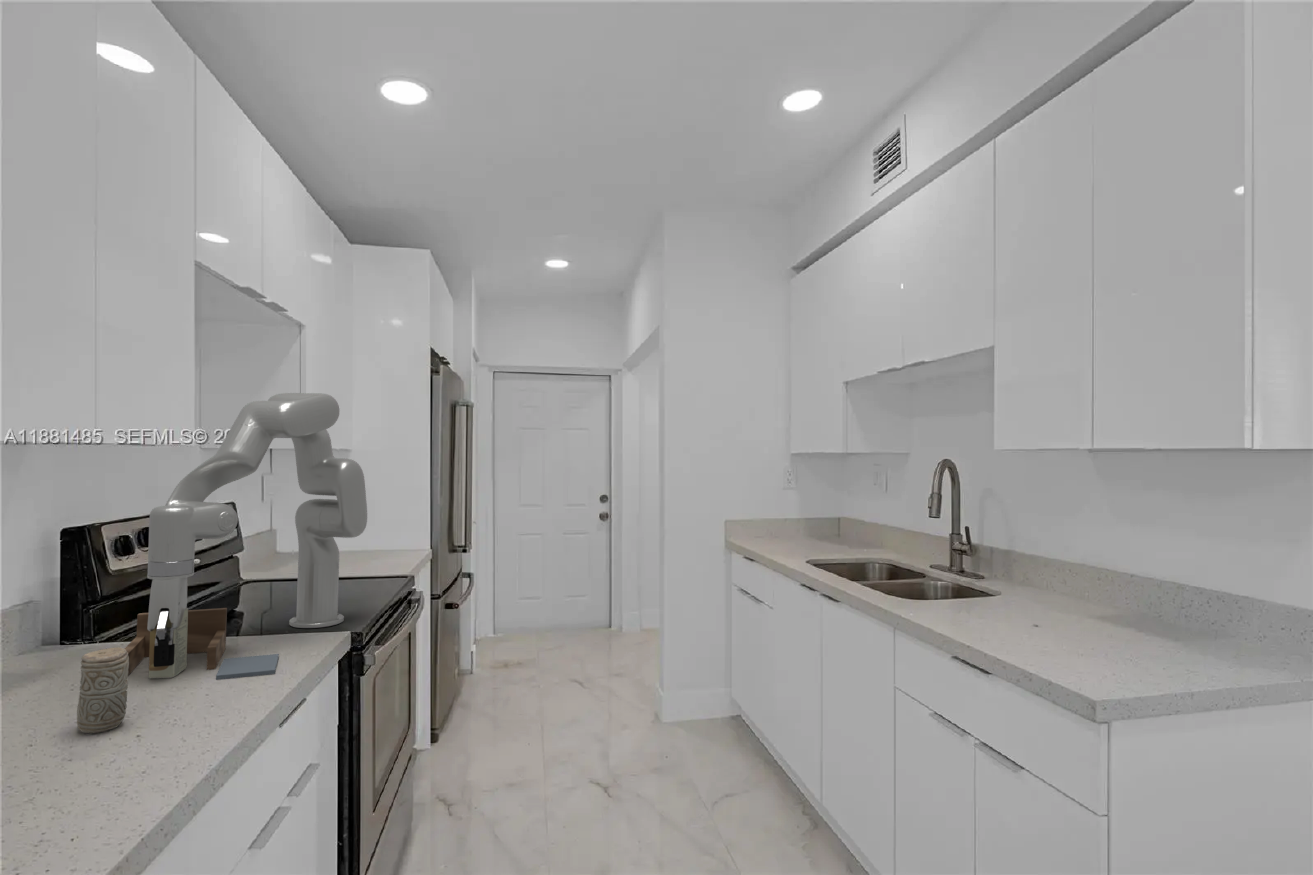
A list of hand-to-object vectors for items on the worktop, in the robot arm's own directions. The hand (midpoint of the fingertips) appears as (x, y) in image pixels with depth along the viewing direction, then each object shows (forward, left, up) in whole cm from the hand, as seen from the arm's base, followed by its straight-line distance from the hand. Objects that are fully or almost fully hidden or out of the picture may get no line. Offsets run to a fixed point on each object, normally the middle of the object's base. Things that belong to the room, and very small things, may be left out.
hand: (168, 659), depth 138 cm
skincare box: (0, 0, -3) cm, 3 cm away
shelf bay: (-8, 0, -3) cm, 9 cm away
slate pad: (+1, +14, -3) cm, 14 cm away
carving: (+27, -4, -3) cm, 27 cm away
